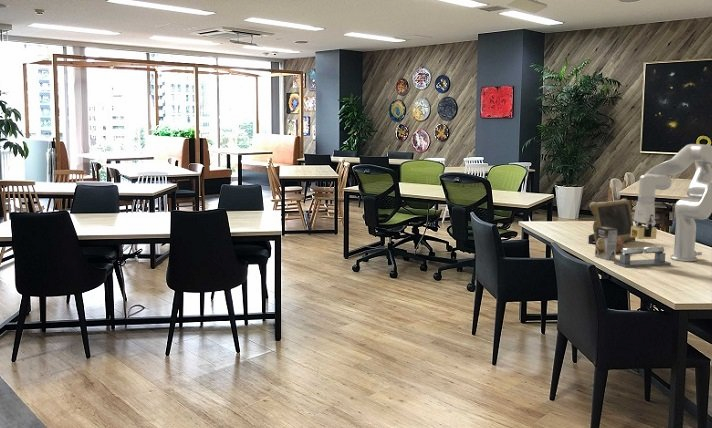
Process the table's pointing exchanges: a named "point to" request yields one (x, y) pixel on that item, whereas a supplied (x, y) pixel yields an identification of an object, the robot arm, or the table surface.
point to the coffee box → (606, 243)
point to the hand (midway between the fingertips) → (643, 235)
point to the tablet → (612, 218)
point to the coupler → (642, 232)
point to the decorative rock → (619, 244)
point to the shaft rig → (657, 261)
